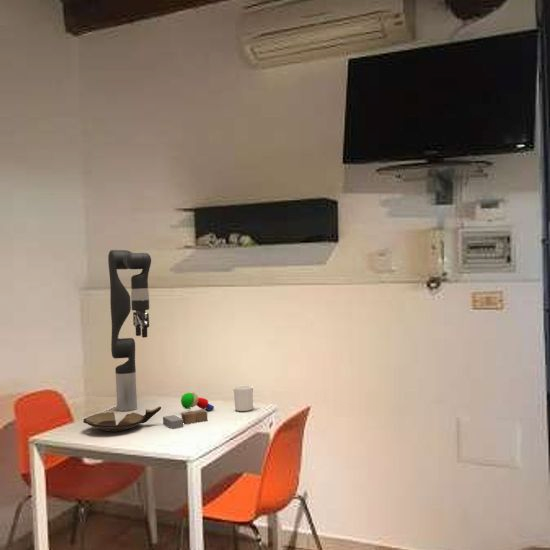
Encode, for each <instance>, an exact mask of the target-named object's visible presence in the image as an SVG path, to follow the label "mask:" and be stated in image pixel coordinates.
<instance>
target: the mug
mask: <svg viewBox="0 0 550 550" xmlns="http://www.w3.org/2000/svg"><path fill="white" fill-rule="evenodd" d="M232 390H233V393H234V395H233V396H234V411H235V412H237V413H248V412H252V411H253V410H254V386H253V385H238V386H234V387H233V389H232Z"/></svg>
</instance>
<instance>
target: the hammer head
mask: <svg viewBox="0 0 550 550" xmlns="http://www.w3.org/2000/svg"><path fill="white" fill-rule="evenodd" d="M162 424H163V425H164V426H166V427H168V428H169V429H171V430H174V429H179V428H184V424H183V419H182V417H179V416H177V415H175V414H172V415H166V416H163V417H162Z"/></svg>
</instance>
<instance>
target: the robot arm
mask: <svg viewBox="0 0 550 550" xmlns="http://www.w3.org/2000/svg"><path fill="white" fill-rule="evenodd" d="M107 257H108V258H107V259H108V261H107V264H108V271H109V274H108V275H109V283H110V285H109V289H110V294H109V295H110V300H109V301H110V302H109V304H110V317H111V319H110V320H111V340H110V341H111V343H110V346H111V348H110V351H111V356H112V358H113V359H128V360H127V361H125V362H124V363H122V364H119V365H117V366H116V367H115V389H116V390H115V392H116V394H115V396H116V397H115V398H116V410H117V411H120V412H127V411H134V410H136V409H138V398H137V397H138V395H137V394H138V393H137V374H136V341H135V339H134V338H133V337H127V338H125V337H124V338H123V337H122V338H119V335H120V332H121V329H122V326H123V325H124V323H125V322H126V320H127V318H128V317H129V315H130V313H131V311H132V317H133V319H132V320H133V321H132V322H133V324H132V325H133V326H134V328H135V336H136V337H142V338H143V339H144V338H148V328H149V327H150V316H149V315H150V314H149V312H146V311H148V310H150V293H149V281H148V280H149V273H150V268H151V264H152V257H151V255H150V254H149V253H147V252H131V250H126V249H123V250H122V249H113V250H110V251H109V252H108V256H107ZM118 270H141V272H140V273H139V274H133V275H132V276H131V278H130V282H131V286H130V287H131V289H130V290H131V291H130V293H129V292H128V290H127V288H126V287H125V286H124V284H123V282H121V279H120V277H119V274H118Z"/></svg>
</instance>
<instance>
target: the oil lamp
mask: <svg viewBox="0 0 550 550" xmlns="http://www.w3.org/2000/svg"><path fill="white" fill-rule="evenodd" d="M161 409H162V407H161V406H157V407H156V408H154V409H148V408H146V409H145V414H143V415H142V414H141V413H137V412H131V413H127V414H126V415H124V417H123V418H122V419H121V420H120V421H119V422H118V423H116V422H117V421H116V415H115V413H114V412H113V411H111V412H109V411H107V412H100V413H96V414H93V415H89V416H87V417H85V418H83V421H82V423H83V424H87V425H88V426H90V427H93V428H95V429H98V430H103V431H106V432H121V431H125V430H129V429H133V428H134V427H136V426H137V425H140V424H146V423H147V422H148V421H149V420H150V419H152V417H154V416H155V415H156V414H158V412H160V411H161Z"/></svg>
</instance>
